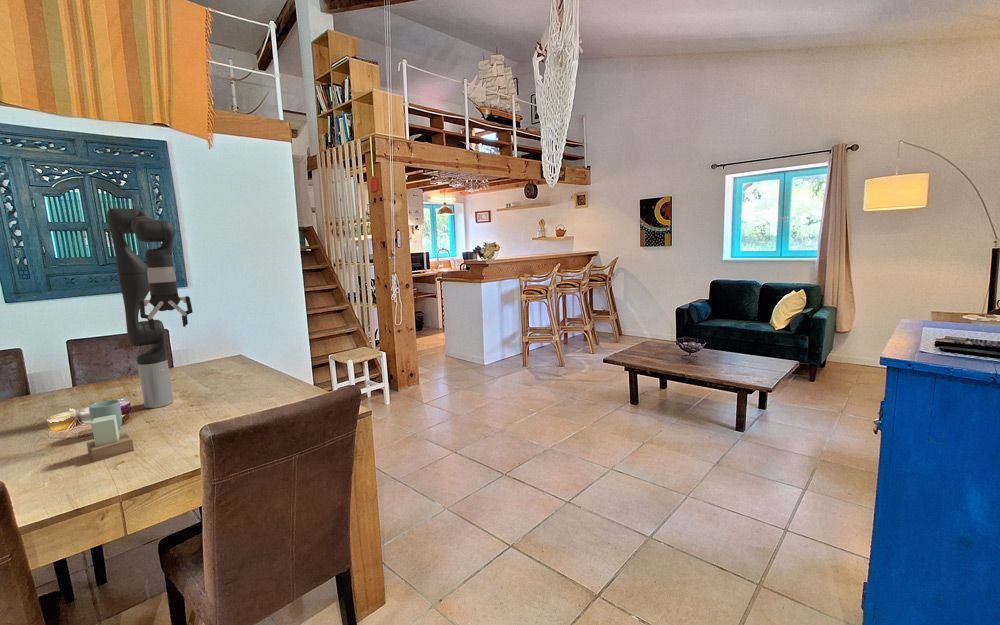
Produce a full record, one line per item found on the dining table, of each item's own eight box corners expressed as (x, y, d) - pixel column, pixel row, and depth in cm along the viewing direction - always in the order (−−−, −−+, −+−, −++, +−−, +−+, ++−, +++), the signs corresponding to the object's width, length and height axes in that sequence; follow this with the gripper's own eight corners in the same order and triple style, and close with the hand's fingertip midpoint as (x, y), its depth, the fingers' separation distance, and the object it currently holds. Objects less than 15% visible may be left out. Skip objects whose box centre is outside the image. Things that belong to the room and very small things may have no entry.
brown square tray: (88, 455, 135) (86, 442, 134) (126, 444, 142) (124, 432, 141) (94, 463, 129) (92, 450, 129) (134, 452, 136) (132, 439, 136)
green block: (97, 440, 135) (93, 418, 134) (119, 436, 138) (115, 414, 137) (95, 446, 131) (91, 423, 130) (117, 441, 134) (113, 419, 133)
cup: (122, 425, 157) (118, 397, 155) (125, 431, 151) (120, 403, 150) (92, 432, 151) (87, 404, 150) (94, 439, 146) (89, 409, 144)
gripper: (187, 278, 159) (193, 324, 162) (135, 281, 151) (142, 329, 153) (188, 279, 153) (195, 326, 156) (135, 283, 145) (142, 332, 147)
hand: (169, 328), depth 154 cm, fingers open, 8 cm apart
